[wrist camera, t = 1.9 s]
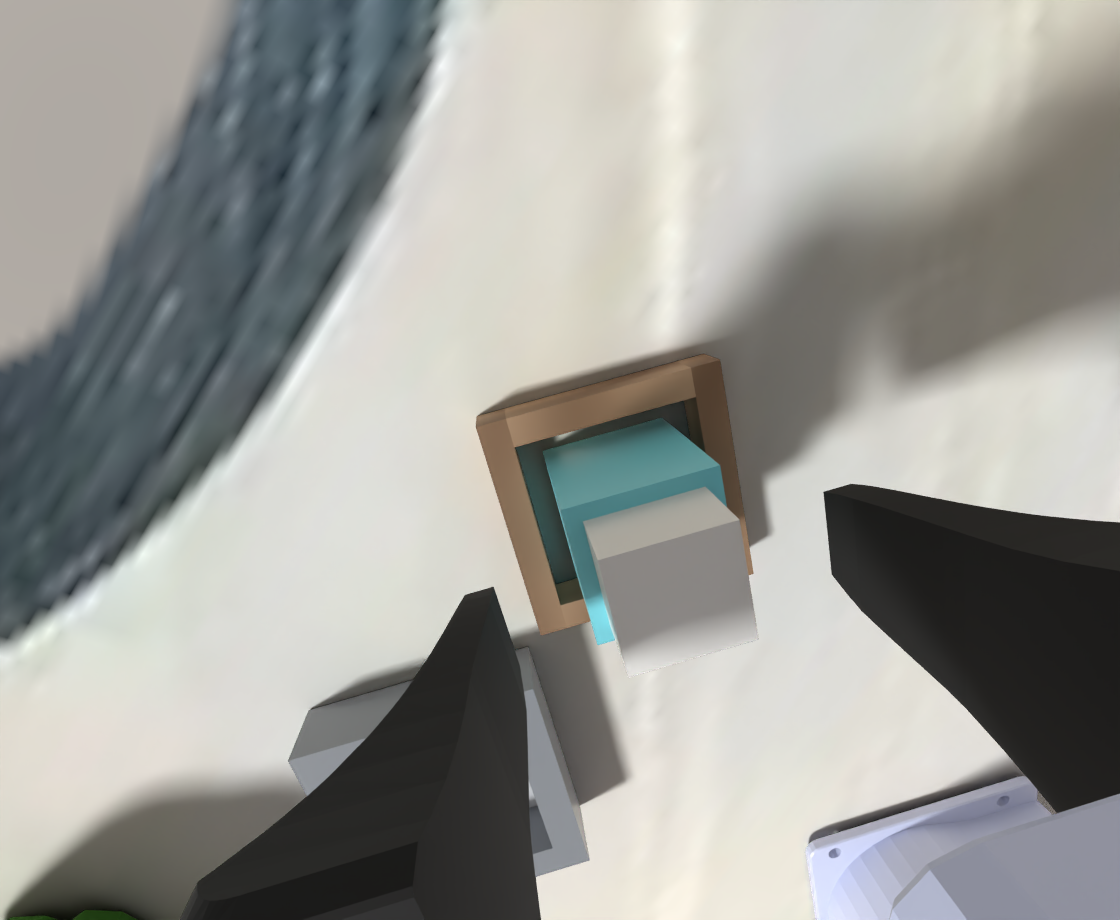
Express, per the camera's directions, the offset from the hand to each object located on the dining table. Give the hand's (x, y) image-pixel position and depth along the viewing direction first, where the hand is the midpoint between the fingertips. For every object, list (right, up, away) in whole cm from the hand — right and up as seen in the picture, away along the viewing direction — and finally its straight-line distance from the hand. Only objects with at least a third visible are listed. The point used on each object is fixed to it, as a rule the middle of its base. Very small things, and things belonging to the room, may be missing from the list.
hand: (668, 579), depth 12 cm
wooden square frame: (-1, +2, +5) cm, 5 cm away
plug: (-1, +2, +5) cm, 6 cm away
